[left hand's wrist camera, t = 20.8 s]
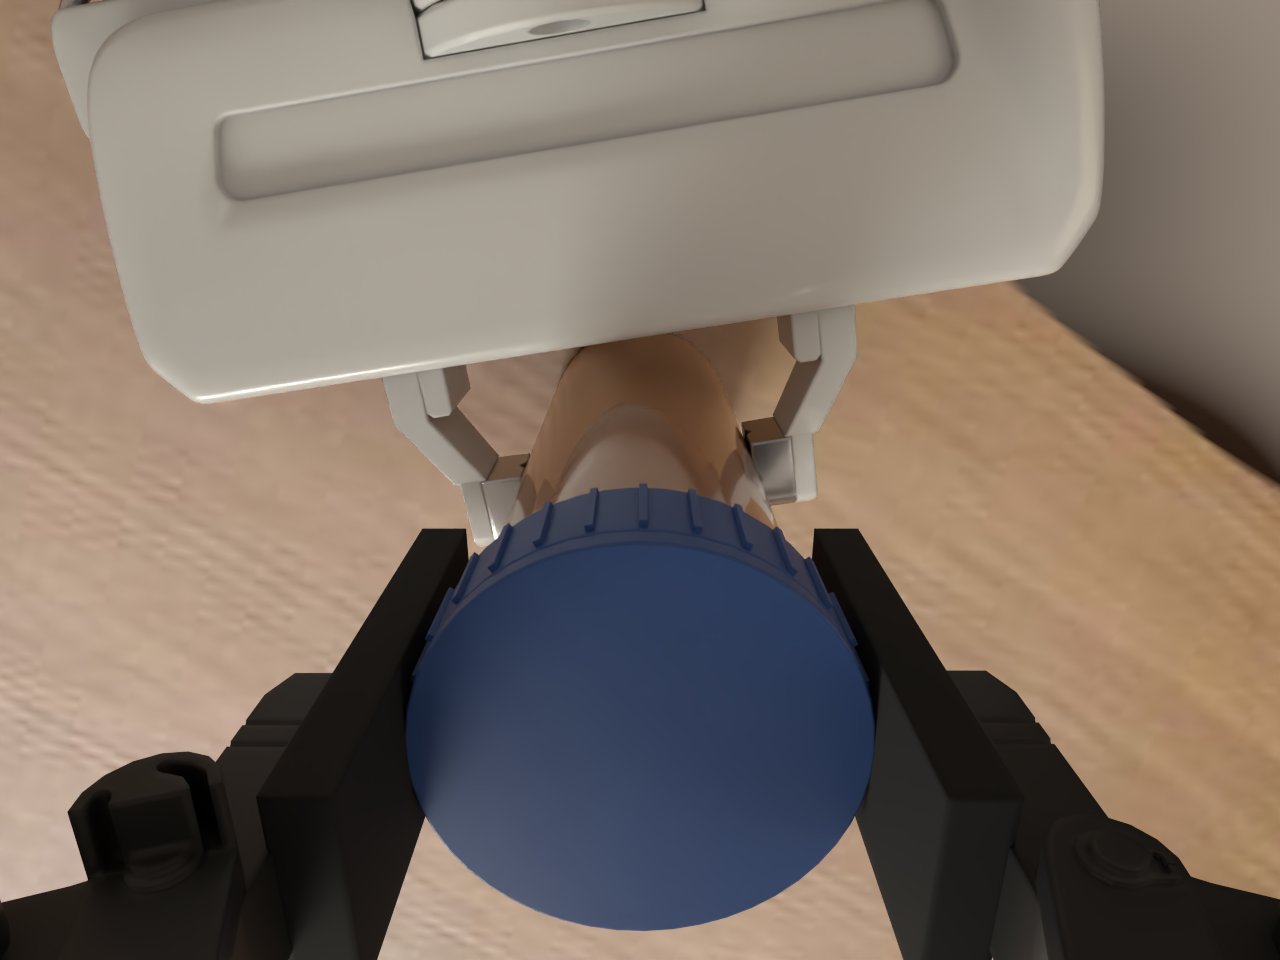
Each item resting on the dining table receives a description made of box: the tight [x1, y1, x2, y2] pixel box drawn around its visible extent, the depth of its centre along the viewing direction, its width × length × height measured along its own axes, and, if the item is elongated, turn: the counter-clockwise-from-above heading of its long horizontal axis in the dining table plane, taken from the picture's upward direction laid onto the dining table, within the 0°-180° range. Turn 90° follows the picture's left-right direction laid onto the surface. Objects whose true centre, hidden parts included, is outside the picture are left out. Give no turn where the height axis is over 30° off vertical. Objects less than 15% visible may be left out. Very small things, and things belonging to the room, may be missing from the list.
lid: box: [405, 484, 876, 931], centre depth 11 cm, size 6×6×2 cm
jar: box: [498, 333, 779, 537], centre depth 18 cm, size 6×6×16 cm
